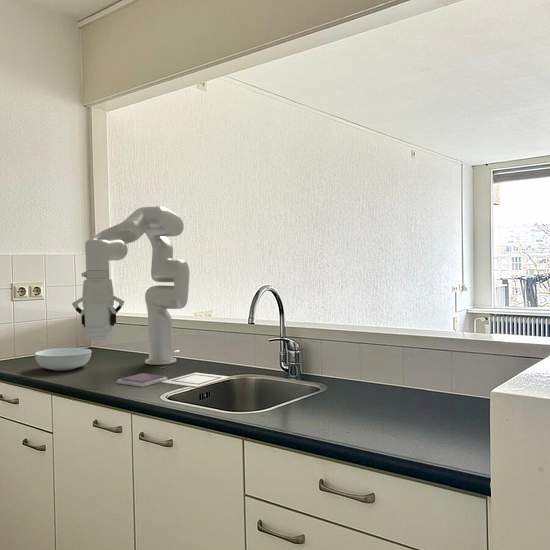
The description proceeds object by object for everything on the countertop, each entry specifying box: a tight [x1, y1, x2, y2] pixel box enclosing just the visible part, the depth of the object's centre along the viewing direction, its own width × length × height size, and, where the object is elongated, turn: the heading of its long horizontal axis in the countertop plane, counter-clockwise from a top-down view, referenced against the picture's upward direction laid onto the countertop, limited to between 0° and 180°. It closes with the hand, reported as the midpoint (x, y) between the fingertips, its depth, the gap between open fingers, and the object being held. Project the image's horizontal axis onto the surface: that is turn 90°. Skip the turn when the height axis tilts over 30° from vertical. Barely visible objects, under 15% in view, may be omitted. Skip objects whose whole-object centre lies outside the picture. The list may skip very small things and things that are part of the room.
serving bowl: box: [34, 347, 92, 372], centre depth 225 cm, size 21×21×7 cm
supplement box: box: [83, 302, 115, 341], centre depth 195 cm, size 7×7×13 cm
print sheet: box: [160, 372, 231, 389], centre depth 199 cm, size 18×16×1 cm
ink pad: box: [116, 373, 168, 388], centre depth 198 cm, size 12×12×2 cm
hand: (99, 326), depth 196 cm, fingers closed on supplement box, 8 cm apart
